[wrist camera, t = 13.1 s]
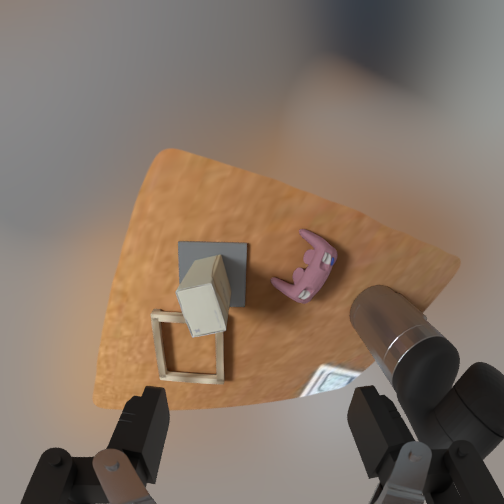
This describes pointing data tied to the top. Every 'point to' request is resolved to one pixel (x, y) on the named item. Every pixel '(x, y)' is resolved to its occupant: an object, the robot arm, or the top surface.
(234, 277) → the coaster
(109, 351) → the top surface
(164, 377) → the wooden rectangular frame
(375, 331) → the robot arm
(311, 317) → the top surface
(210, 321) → the skincare box
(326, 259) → the video game controller
